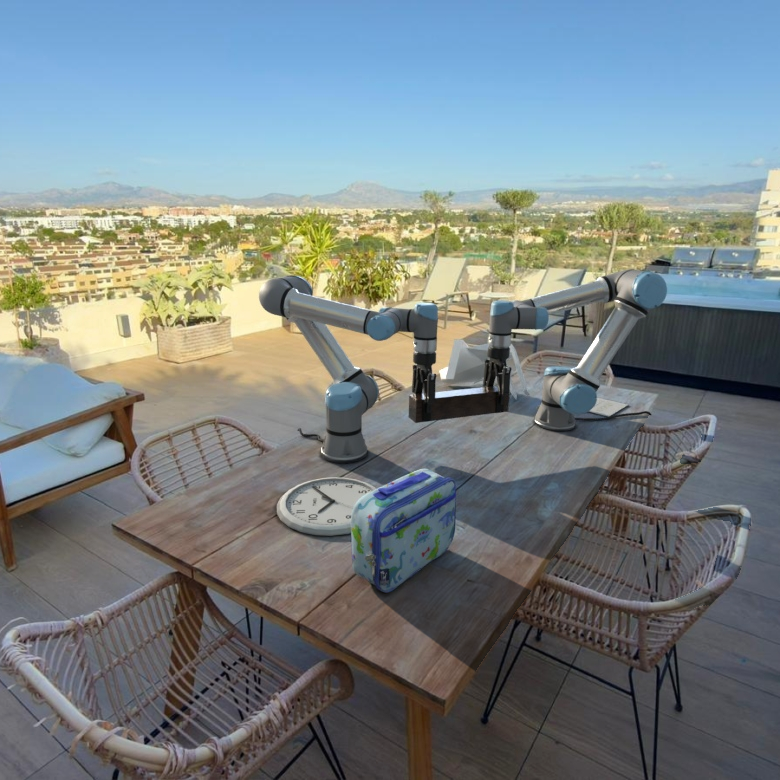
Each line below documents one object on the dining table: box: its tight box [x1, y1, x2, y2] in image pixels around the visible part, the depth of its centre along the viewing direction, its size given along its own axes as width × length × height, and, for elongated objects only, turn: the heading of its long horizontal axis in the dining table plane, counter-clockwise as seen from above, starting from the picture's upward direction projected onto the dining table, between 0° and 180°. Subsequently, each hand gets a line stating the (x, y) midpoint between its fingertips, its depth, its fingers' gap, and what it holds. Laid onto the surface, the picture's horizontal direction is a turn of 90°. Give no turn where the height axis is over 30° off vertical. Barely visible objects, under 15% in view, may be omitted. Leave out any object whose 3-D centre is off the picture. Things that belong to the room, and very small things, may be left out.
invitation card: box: [587, 397, 629, 417], centre depth 226 cm, size 21×1×15 cm
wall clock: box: [276, 476, 378, 537], centre depth 142 cm, size 30×2×30 cm
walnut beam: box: [408, 385, 511, 424], centre depth 181 cm, size 36×6×8 cm, turn 111°
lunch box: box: [350, 468, 457, 593], centre depth 114 cm, size 26×11×21 cm, turn 134°
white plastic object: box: [438, 338, 531, 400], centre depth 245 cm, size 37×45×31 cm
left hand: (422, 417), depth 177 cm, fingers closed on walnut beam, 6 cm apart
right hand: (494, 409), depth 187 cm, fingers closed on walnut beam, 6 cm apart
